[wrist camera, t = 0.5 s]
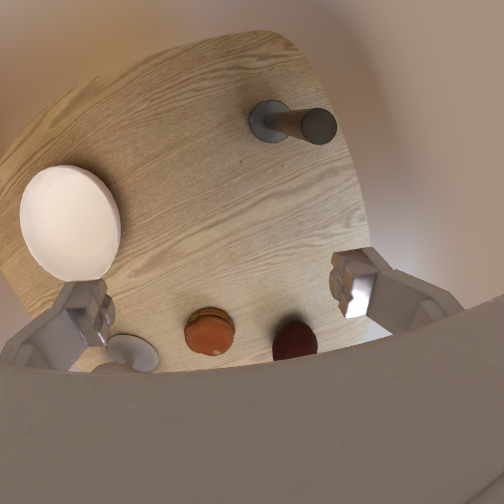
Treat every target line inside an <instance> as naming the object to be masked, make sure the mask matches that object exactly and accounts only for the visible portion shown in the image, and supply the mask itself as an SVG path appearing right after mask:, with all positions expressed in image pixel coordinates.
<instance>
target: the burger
mask: <svg viewBox="0 0 504 504" xmlns="http://www.w3.org/2000/svg"><path fill="white" fill-rule="evenodd" d="M234 327H235V326H234V324H233V322H232V321H231V320H230V318H229V317H228V316H227V315H226V314H225V313H224V312H223V311H221V310H218V309H212V308H208V309H202V310H199V311H197V312H195V313H194V314H192V315H191V317H190V319H189V321H188V324H186V326H185V328H184V335H185V341H186V344H187V345H188V347H189V348H190V349H191V350H192V351H194V352H196V353H202V354H205V355H209V356H218V355H221V354H223V353H225V352H226V351H227V350H228V349H229V348H230V346H231V345H232V343H233V339H234V334H235V328H234Z"/></svg>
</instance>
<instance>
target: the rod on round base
mask: <svg viewBox="0 0 504 504" xmlns="http://www.w3.org/2000/svg"><path fill="white" fill-rule="evenodd" d="M248 124H249V128H250V130H251V132H252V133H253V134H254V135H255V136H256V137H257V138H258V139H260V140H262V141H264V142H267V143H277V142H280V141H283V140H284V139H286V138H287V137H288V136H292V137H295V138H298V139H301V140H304V141H307V142H310V143H313V144H316V145H323V144H326V143H328V142H330V141H331V140H332V139H333V138H334V136H335V134H336V132H337V123H336V120H335V118H334V116H333V115H332V114H331V113H330V112H329V111H327V110H325V109H322V108H312V109H301V110H290V109H289V108H288V107H287V106H286V105H285V104H283V103H282V102H279V101H275V100H268V101H264V102H261V103H260V104H258V105H256V106H255V107H254V108H253V109H252V110H251V112H250V114H249V118H248Z"/></svg>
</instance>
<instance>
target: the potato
mask: <svg viewBox="0 0 504 504" xmlns="http://www.w3.org/2000/svg"><path fill="white" fill-rule="evenodd" d="M317 350H318V343H317V339H316V336H315V334H314V333H313V331H312V330H311V328H310V327H309V326H308V325H306V324H305V323H303V322H300V321H294V322H290V323H289V324H287V325H285V326H284V327H283V328H282V329H281V330H280V331H279V333H278V334H277V335H276V338H275V340H274V342H273V346H272V351H273V360H274V361H279V360H285V359H291V358H297V357H302V356H308V355H313V354H317Z"/></svg>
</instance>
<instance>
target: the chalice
mask: <svg viewBox="0 0 504 504" xmlns="http://www.w3.org/2000/svg"><path fill="white" fill-rule="evenodd" d="M107 348H108V352H109V354H110V356H111V357H112V358H113V360H115V361H116V362H117V363H113V362H110V363H104V364H101V365H98V366H97V367H96V368H95V369H94V370H93V371H92V372H91V373H141V372H145V371H150V370H152V369H154V368H155V367H156V366H157V365H158V362H159V358H158V354H157V353H156V351H155V349H154V348H153V347H152V346H151V345H150V344H148V343H147V342H145V341H144V340H142V339H140V338H137V337H135V336H130V335H117V336H114V337H112V338H111V339H110V340H109V342H108V345H107Z"/></svg>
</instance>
